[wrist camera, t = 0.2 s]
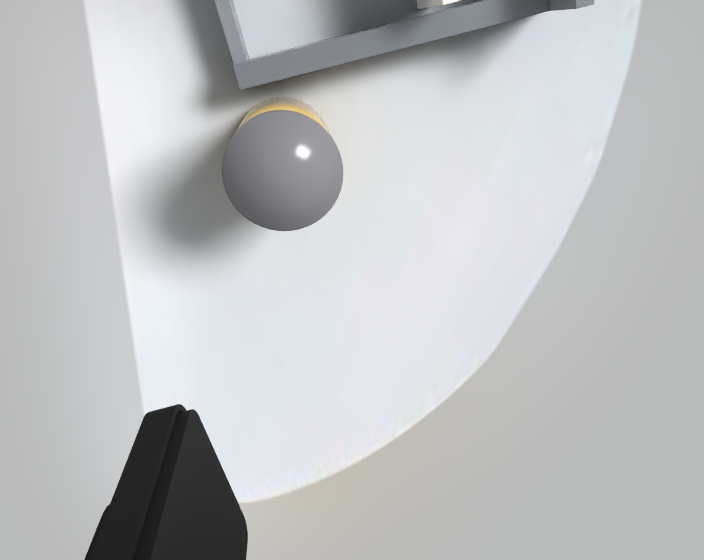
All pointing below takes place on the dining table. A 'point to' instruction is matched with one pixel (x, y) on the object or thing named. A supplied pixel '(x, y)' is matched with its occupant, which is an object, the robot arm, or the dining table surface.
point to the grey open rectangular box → (373, 37)
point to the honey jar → (282, 166)
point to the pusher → (433, 3)
